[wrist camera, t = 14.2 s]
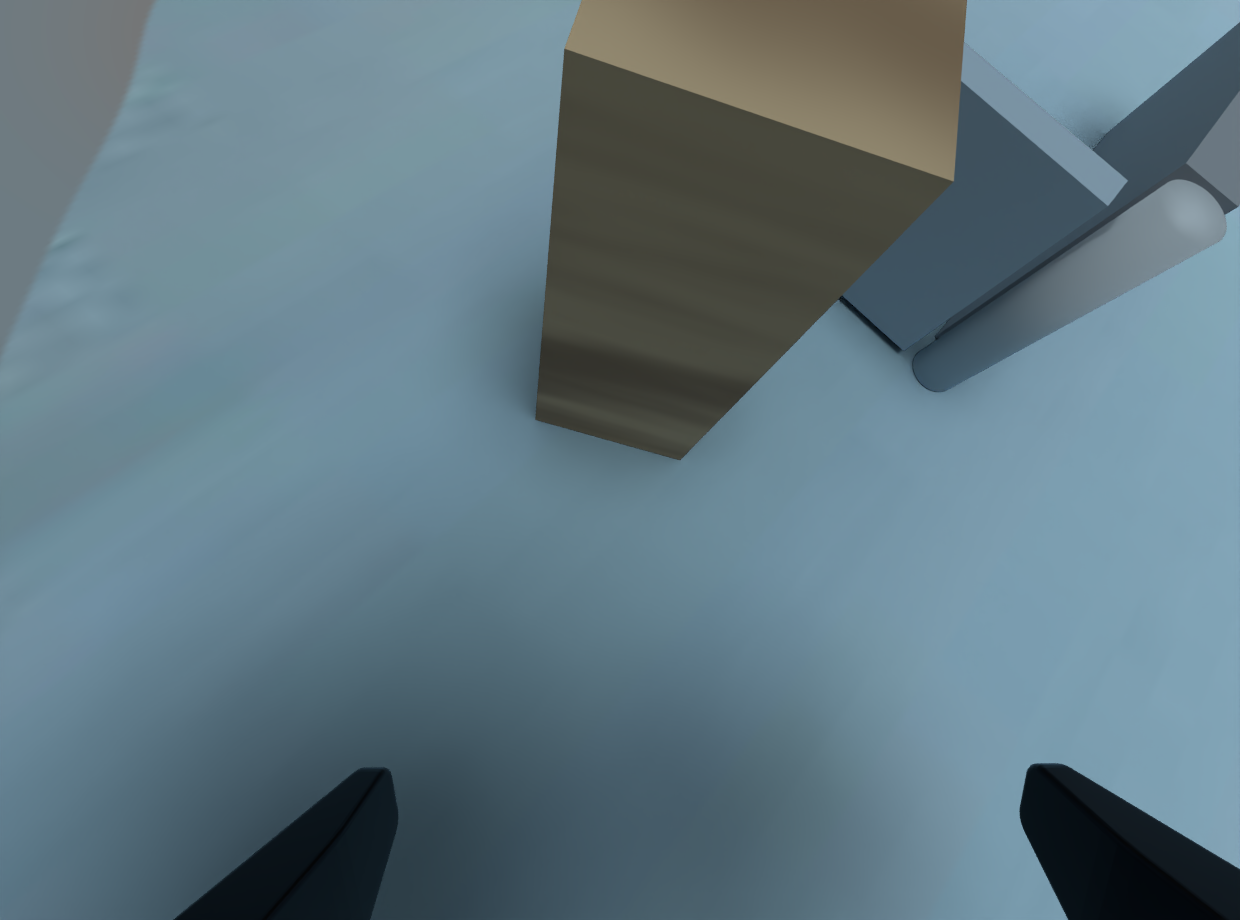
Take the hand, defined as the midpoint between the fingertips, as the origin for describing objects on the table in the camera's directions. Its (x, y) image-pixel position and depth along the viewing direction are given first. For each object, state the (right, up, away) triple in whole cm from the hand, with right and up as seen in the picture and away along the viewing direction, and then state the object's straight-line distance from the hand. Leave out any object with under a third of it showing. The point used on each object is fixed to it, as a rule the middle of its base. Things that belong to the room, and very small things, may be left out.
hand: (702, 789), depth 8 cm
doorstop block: (-1, +8, +12) cm, 14 cm away
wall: (+16, +14, +17) cm, 27 cm away
